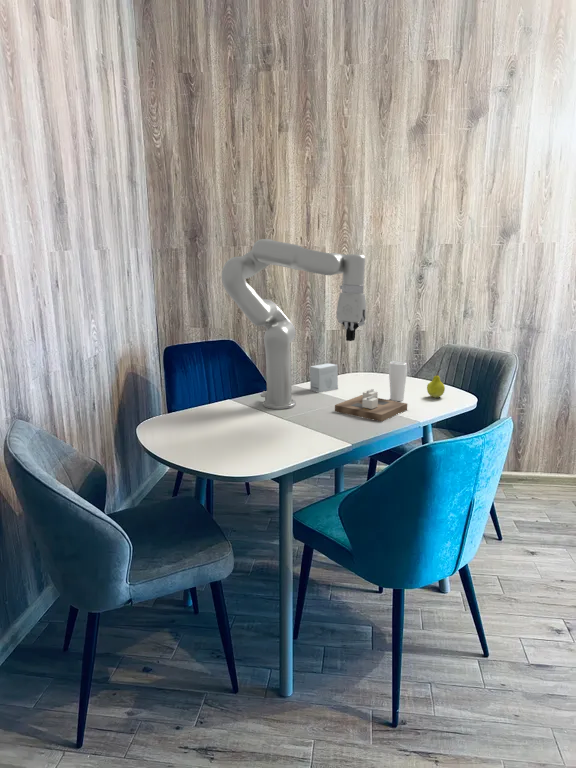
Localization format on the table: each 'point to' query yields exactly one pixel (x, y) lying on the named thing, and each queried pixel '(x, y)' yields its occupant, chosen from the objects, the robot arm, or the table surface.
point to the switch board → (379, 413)
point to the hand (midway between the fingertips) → (350, 340)
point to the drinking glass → (397, 380)
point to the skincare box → (324, 377)
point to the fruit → (436, 387)
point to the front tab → (370, 402)
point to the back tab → (370, 393)
